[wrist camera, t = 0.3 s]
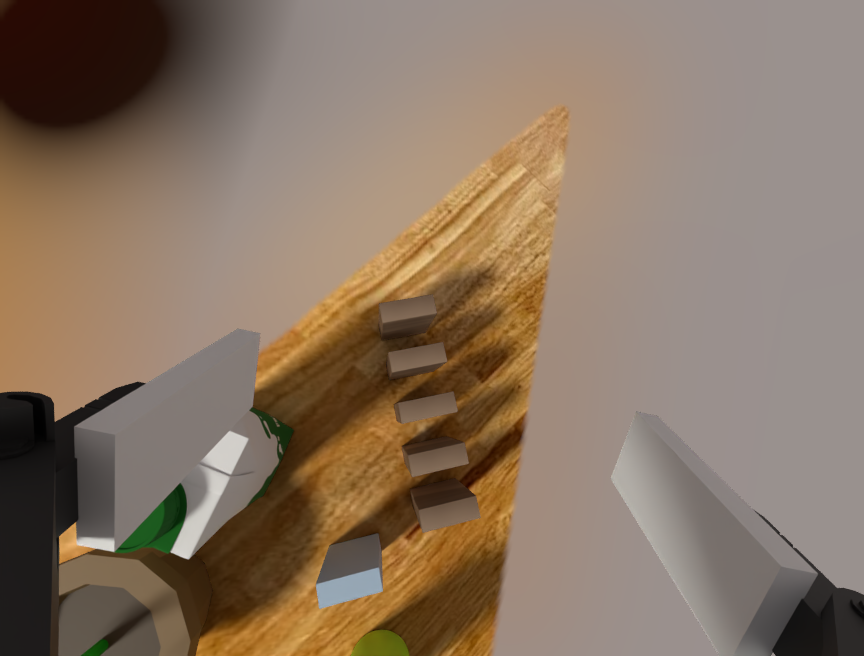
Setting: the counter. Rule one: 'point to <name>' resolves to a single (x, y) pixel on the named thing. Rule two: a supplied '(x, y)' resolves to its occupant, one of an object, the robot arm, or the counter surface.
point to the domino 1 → (350, 571)
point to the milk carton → (215, 488)
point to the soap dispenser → (380, 644)
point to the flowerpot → (132, 604)
